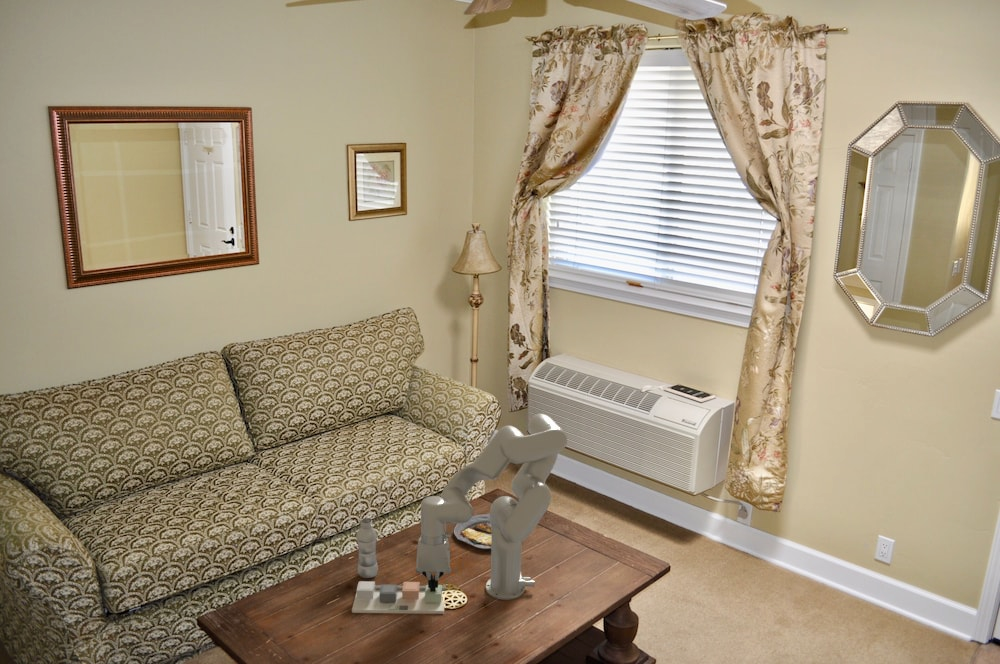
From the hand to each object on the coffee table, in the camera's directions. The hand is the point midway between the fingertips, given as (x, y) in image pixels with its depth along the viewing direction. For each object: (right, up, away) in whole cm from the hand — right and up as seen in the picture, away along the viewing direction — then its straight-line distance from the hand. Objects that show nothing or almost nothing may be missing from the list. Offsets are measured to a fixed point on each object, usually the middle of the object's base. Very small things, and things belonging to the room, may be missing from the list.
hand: (433, 589), depth 260 cm
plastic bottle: (-23, 0, +15) cm, 27 cm away
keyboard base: (-10, -4, +1) cm, 11 cm away
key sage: (0, -3, +1) cm, 3 cm away
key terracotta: (-7, -2, +1) cm, 7 cm away
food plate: (+17, +6, +42) cm, 45 cm away
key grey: (-21, -2, 0) cm, 21 cm away
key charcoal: (-14, -3, +1) cm, 14 cm away
